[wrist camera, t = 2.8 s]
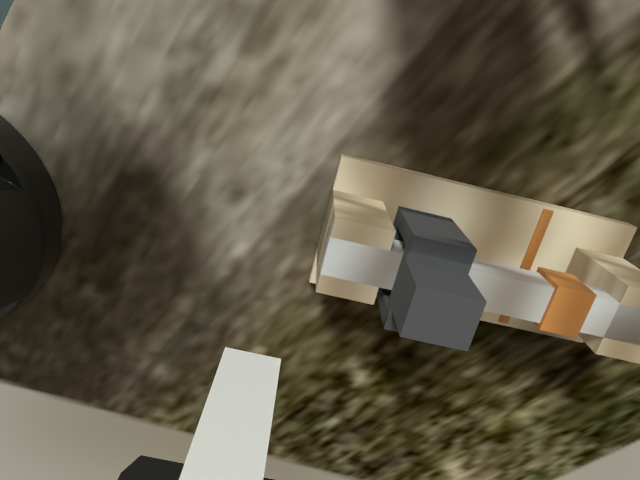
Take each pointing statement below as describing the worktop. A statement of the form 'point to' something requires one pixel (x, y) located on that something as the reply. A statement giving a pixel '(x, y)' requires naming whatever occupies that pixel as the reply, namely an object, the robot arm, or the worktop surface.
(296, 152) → the worktop surface
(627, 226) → the rail
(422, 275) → the dark grey sliding collar
